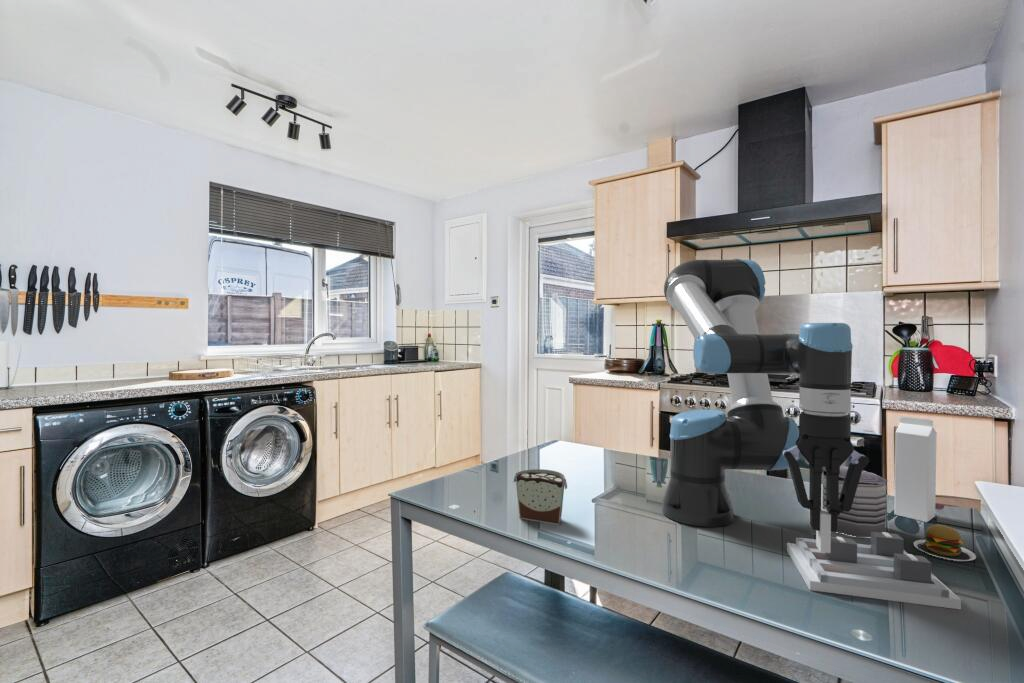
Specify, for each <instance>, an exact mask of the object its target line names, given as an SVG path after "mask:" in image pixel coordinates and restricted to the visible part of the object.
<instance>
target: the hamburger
mask: <svg viewBox="0 0 1024 683" xmlns="http://www.w3.org/2000/svg"><path fill="white" fill-rule="evenodd" d="M919 543H925V544H924V545H925V547H926V548H927V549H928V551H929V552H932V553H934V554H932V553H929V552H927V551H924V550H923V549H921V548H920V547H919V548H920V549H919V548H918V547H917V544H919ZM962 545H964V544H963V541H962V540H961V534H960V533H959V531H958V530H956V529H954V528H953V527H950V526H948V525H945V524H932V525H929V526H928V527H927V529H926V530H925V532H924V539H918V540H915V541H914V542H913V546H914V547H915V549H917V550H919V551H921V552H923V553H924V552H925V553H924V554H926V553H927V554H926V555H929V556H931V555H932V556H931V557H934V556H935V558H938V557H939V558H938V559H941V558H943V560H946V559H947V561H951V560H953V561H954V562H969V561H974V560H976V558H977V555H976V554H975V553H974V552H973V551H971V550H969V549H967V548H965V547H964V546H962ZM936 553H937V554H936ZM961 553H964V554H966V555H967V556H968V557H969V558H968V559H954V558H955V557H959V556H960V555H961ZM939 554H940V555H939ZM938 555H939V556H938ZM944 555H945V557H943V556H944ZM950 556H953V557H952V558H948V557H950ZM953 561H952V562H953Z"/></svg>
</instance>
